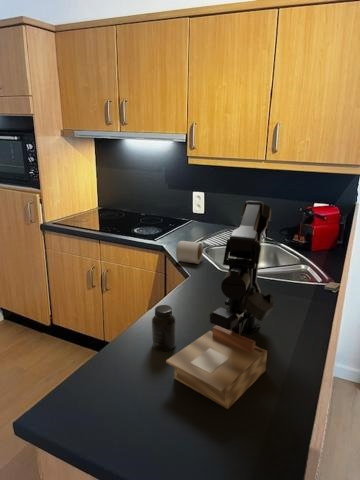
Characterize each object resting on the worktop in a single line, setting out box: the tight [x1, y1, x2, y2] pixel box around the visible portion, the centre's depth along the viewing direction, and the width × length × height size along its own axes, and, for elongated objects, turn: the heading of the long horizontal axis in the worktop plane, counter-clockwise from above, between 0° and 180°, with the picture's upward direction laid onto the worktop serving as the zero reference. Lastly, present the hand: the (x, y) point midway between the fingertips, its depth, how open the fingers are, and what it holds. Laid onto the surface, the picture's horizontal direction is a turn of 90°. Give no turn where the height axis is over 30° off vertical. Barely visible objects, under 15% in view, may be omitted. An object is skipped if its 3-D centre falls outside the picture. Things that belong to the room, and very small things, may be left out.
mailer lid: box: [165, 325, 262, 393], centre depth 87 cm, size 18×16×3 cm
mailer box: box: [173, 345, 268, 410], centre depth 91 cm, size 18×16×6 cm
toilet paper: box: [175, 240, 204, 265], centre depth 171 cm, size 10×10×10 cm
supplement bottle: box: [151, 304, 177, 352], centre depth 102 cm, size 7×7×12 cm
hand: (237, 336), depth 94 cm, fingers closed
